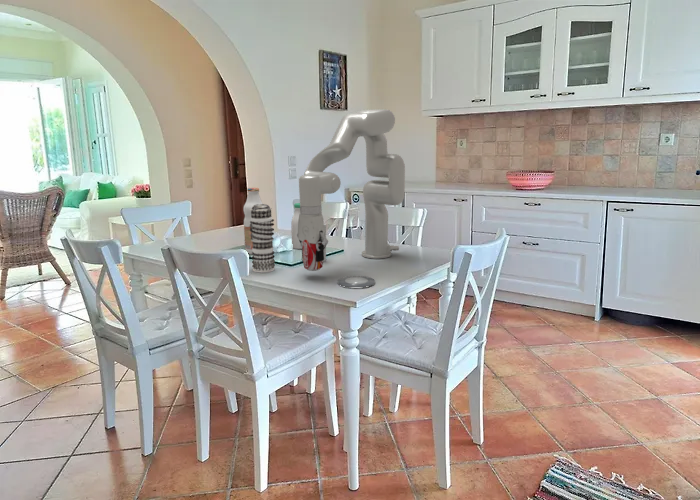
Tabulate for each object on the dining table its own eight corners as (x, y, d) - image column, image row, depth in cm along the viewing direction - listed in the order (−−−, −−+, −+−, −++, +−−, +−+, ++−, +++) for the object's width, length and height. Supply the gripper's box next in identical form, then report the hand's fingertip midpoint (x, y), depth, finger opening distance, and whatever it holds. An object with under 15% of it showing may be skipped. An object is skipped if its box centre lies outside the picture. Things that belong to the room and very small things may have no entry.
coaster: (369, 276, 188) (369, 274, 188) (379, 287, 176) (379, 284, 176) (334, 279, 185) (334, 276, 185) (342, 290, 173) (342, 287, 173)
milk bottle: (308, 249, 230) (307, 204, 225) (291, 249, 230) (289, 205, 225) (309, 245, 237) (308, 202, 233) (293, 245, 237) (291, 202, 233)
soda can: (320, 272, 183) (319, 239, 180) (301, 271, 184) (299, 238, 181) (325, 266, 189) (324, 234, 186) (306, 265, 191) (305, 234, 188)
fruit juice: (242, 254, 222) (238, 189, 215) (250, 249, 231) (246, 186, 224) (262, 255, 220) (259, 189, 213) (270, 250, 229) (267, 187, 222)
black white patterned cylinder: (277, 271, 195) (275, 206, 189) (253, 273, 193) (249, 207, 187) (274, 265, 204) (271, 202, 198) (250, 267, 201) (247, 203, 195)
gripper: (287, 209, 185) (290, 256, 189) (318, 214, 172) (320, 265, 177) (303, 206, 190) (305, 252, 194) (335, 211, 177) (337, 261, 182)
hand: (313, 258), depth 186 cm, fingers closed on soda can, 7 cm apart
